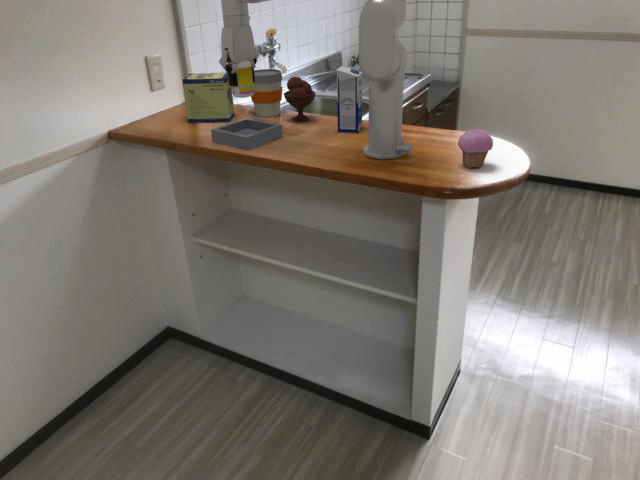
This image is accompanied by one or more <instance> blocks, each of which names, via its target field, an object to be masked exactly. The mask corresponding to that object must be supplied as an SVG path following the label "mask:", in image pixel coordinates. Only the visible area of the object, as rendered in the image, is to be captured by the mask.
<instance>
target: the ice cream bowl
mask: <svg viewBox="0 0 640 480" xmlns="http://www.w3.org/2000/svg"><path fill="white" fill-rule="evenodd" d="M286 88H287V91H286V92H284V93H283V97H284V99H285V101H286V102H287V103H288V104H289V105H290V107H291V106H292V107H293V108H294V109H295V108H296V110H297V115H296V116H295V117H293V119H292V121H294V122H297V123H298V122H308V121H309V117H308V116H307V115H306V114H305V115H304V110H305V108H307V107H308V106H309V105H311V104H312V103H313V102H314V100H315V97H316V94H317V93H316V92H315V91H314V90H313V88H312V85H311V84H310V83H309V82H308V81H306V80H304V79H302V78H301V77H300V76H291V77H290V78H289V79H288V80H287V82H286Z"/></svg>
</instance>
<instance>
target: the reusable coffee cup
mask: <svg viewBox="0 0 640 480" xmlns="http://www.w3.org/2000/svg"><path fill="white" fill-rule="evenodd" d="M254 75H255V82H253V88H254V94H253V95H252V96H250V98H251V102H252V104H253V108H254V112H255V115H256V117H261V118H263V117H264V118H270V117H271V118H272V117H275V116H279V115H280V114H281V113H280V112H281V101H282V99H283V98H282V97H283V86H282V81H283V75H282V71H281V70H280V69H273V68H268V69H267V68H264V69H254Z"/></svg>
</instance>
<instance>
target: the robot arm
mask: <svg viewBox="0 0 640 480" xmlns="http://www.w3.org/2000/svg"><path fill="white" fill-rule="evenodd" d="M269 1H271V0H220V3H221V5H220V6H221V11H222V20H223V21H222V23H223V27H222V28H221V35H220V38H221V39H220V43H221V44H220V47H221V48H220V49H221V51H220V52H221V56H220V59H219V60H218V63H219V65H220V66H221V67H222V68H223V69H224V70H225V72H227V73H228V78H229V85H230V86H233V87H237V86H238V80H237V73H235V70H236V65H237V63H240V62H242V61H244V60H246V61H250V62H251V66H252V77H253V82H255V75H254V70H255V69H256V65H257V62H258V59H259V58H260V57H259V56H260V52H258V50H257V49H256V48H255V46H256V45H255V39H254V34H253V33H254V32H253V30H252V26H251V24H250V20H251V17H250V14H249V13H250V12H249V5H248V4H258V3H264V2H269ZM406 14H407V0H367V1H366V2H365V4H364V5H363V7H362V8H361V11H360V15H359V22H358V66H359V70H360V72H362V76H363V77H364V78H365V79H367V80H369V85H368V130H367V131H368V136H367V137H368V143H367V144H366V145H364V147H363V149H362V153H363V155H364V156H366V157H369V158H372V159H376V160H377V159H378V160H390V159H398V158H402V157H403V156H405V155H406V153H407V154H408V153H409V154H411V153H412V151H413V144H412V143H407V142H406V140H405V139H406V137H402V132H403V129H402V128H403V109H404V108H403V105H404V104H403V103H404V90H405V89H404V88H405V77H406V70H407V61H408V60H407V51H406V48H405V45H404V44H403V43H402V42H401V41H400V40H399V39H397V31H398V30H399V29H400V28H401V27H402V26H403V25H404V23H405V20H406ZM244 56H246V57H244ZM231 65H232V68H231Z"/></svg>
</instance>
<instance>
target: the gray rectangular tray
mask: <svg viewBox="0 0 640 480" xmlns="http://www.w3.org/2000/svg"><path fill="white" fill-rule="evenodd" d="M210 133H211V141H212V143H216V144H220V145H225V146H229V147H233V148H237V149H241V150H245V151H250V150H253V149H255V148H258V147H261V146H263V145H265V144H268V143H271V142H273V141H276V140H279V139H280V138H281V139H282V138H283V137H284V136H283V135H284V133H283V124H281V123H276V122H270V121H265V120H260V119H255V118H254V119H253V118H249V117H245V118H242V119H237V120H236V121H235V120H234V121H231V122H228V123H227V124H223V125H220V126H217V127H215V128H211V129H210Z"/></svg>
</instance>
